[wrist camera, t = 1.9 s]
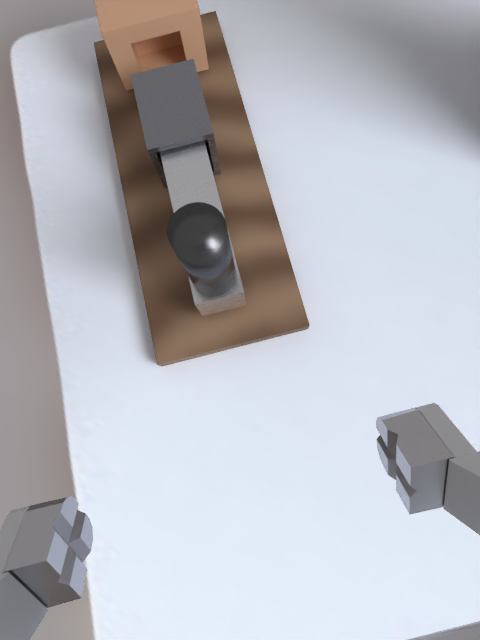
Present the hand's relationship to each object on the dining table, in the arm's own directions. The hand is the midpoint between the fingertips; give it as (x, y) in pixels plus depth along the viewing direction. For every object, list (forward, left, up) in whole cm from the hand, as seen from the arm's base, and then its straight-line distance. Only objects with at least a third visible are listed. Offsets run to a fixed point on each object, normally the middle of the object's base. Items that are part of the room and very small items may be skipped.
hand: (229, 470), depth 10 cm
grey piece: (-10, -18, -22) cm, 31 cm away
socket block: (-20, -34, -23) cm, 46 cm away
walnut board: (-13, -22, -25) cm, 36 cm away
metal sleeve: (-14, -25, -23) cm, 37 cm away
